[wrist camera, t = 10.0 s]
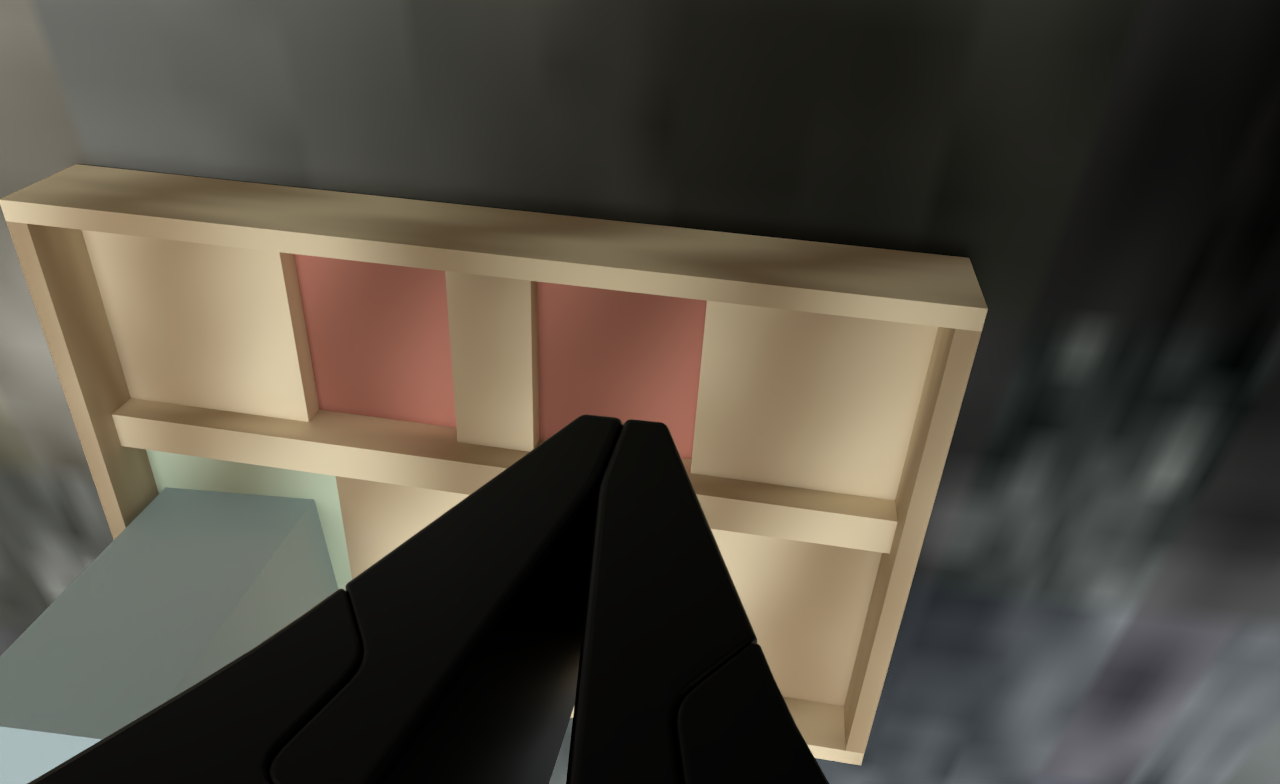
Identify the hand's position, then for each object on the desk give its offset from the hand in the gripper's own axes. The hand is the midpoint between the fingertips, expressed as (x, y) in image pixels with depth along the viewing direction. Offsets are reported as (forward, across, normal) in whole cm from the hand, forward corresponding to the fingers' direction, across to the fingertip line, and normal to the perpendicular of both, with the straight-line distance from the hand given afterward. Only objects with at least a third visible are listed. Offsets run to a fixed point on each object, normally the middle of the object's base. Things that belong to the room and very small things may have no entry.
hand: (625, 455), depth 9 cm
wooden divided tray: (+12, +5, +9) cm, 16 cm away
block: (+11, +12, +13) cm, 21 cm away
